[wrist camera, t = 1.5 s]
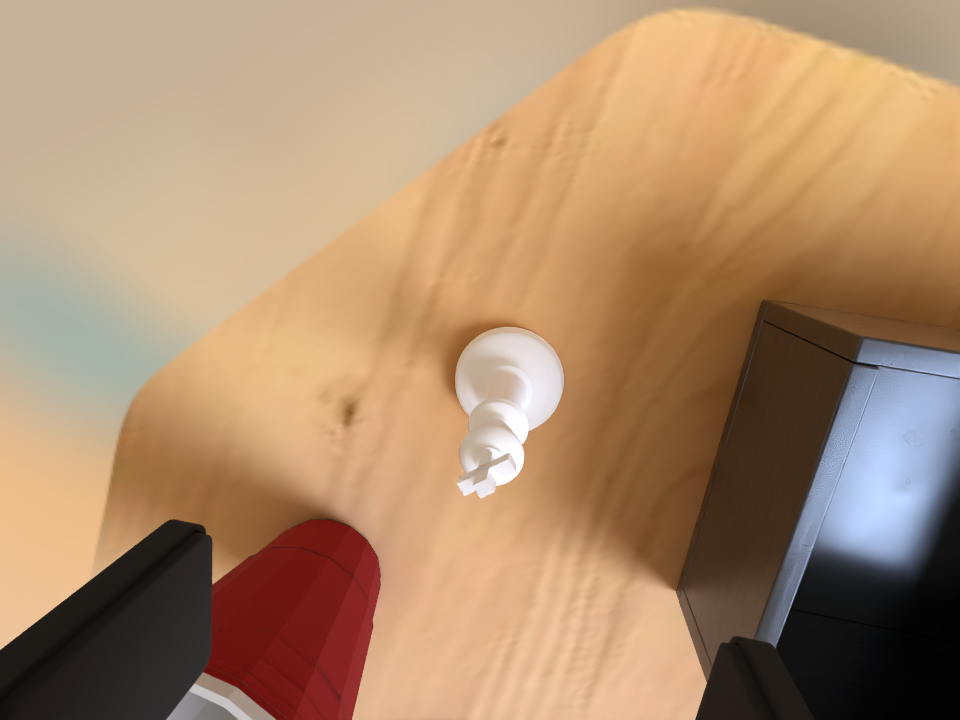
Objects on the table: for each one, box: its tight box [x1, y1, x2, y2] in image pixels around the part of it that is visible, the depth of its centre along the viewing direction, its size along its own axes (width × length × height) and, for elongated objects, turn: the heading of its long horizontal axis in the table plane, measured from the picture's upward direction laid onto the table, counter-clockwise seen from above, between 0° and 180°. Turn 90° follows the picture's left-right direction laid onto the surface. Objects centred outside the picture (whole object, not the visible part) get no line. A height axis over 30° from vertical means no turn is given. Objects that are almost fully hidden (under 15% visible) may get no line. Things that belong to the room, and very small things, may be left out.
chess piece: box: [455, 327, 564, 498], centre depth 19 cm, size 5×5×10 cm
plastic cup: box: [167, 520, 381, 720], centre depth 22 cm, size 11×11×12 cm
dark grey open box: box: [676, 299, 960, 720], centre depth 19 cm, size 15×15×7 cm
